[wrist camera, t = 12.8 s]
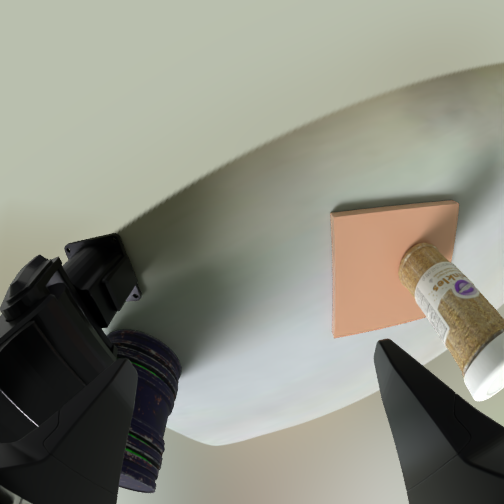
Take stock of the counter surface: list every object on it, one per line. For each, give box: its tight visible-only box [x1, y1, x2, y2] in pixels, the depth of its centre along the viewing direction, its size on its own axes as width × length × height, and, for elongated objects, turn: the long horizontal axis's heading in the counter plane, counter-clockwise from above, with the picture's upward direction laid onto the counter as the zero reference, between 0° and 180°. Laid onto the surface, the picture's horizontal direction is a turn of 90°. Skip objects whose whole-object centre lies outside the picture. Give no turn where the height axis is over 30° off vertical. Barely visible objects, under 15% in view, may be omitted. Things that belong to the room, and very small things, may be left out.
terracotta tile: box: [330, 200, 459, 338], centre depth 22 cm, size 12×12×1 cm
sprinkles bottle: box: [398, 243, 504, 401], centre depth 15 cm, size 5×5×13 cm
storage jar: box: [107, 330, 181, 493], centre depth 21 cm, size 10×10×15 cm
